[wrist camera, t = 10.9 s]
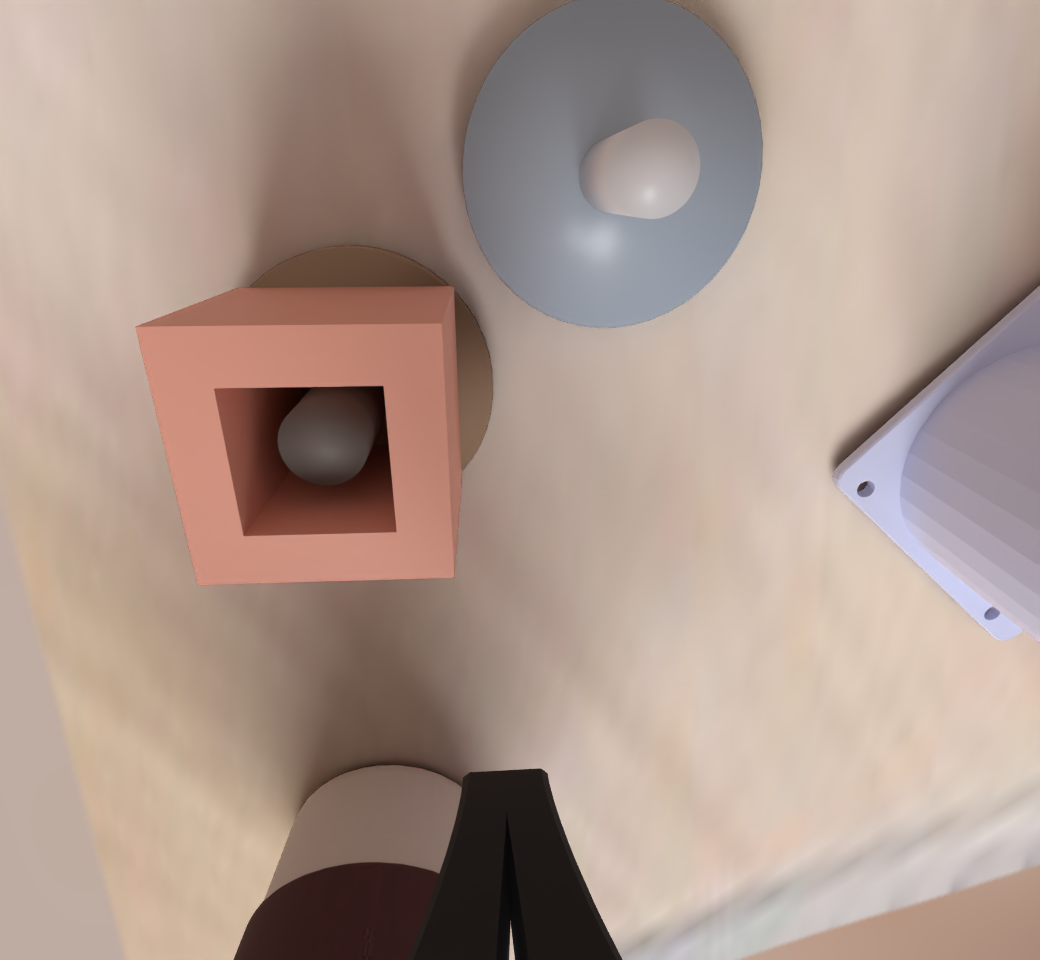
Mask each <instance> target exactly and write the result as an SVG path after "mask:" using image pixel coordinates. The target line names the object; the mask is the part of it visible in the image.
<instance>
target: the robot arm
mask: <svg viewBox="0 0 1040 960" xmlns="http://www.w3.org/2000/svg"><path fill="white" fill-rule="evenodd" d="M865 481H867V486H866V487H865V488H864V489H863V490H861V491H858V492H857V488H858V487H859V485H860V484H861V483H863V482H865ZM833 482H834V484H835V485H836V487H837V488H838V489H839V490H841V491H842V492H843V493H844V494H845V495H846V496H847V497H848V498H849V499H850V500H851V501H852V502H853V503H854V504H855V505H856V506H857V507H858V508H859V509H860V510H861V511H862V512H863V513H864V514H865V515H867V516H868V517H869V518H870V519H871V520H872V521H873V522H874V523H875V524H876V525H877V526H878V527H879V528H880V529H881V530H882V531H883V532H884V533H885V534H886V535H887V536H888V537H889V538H890V539H891V540H892V541H894V542H895V543H896V544H897V545H898V546H899V547H900V548H901V549H902V550H903V551H904V552H905V553H906V554H907V555H908V556H909V557H910V558H911V559H912V560H913V561H914V562H915V563H916V564H917V565H918V566H919V567H921V568H922V569H923V570H924V571H925V572H926V573H927V574H928V575H929V576H930V577H931V578H932V579H933V580H934V581H935V582H936V583H937V584H938V585H939V586H940V587H941V588H942V589H943V590H944V591H945V592H947V593H948V594H949V595H950V596H951V597H952V598H953V599H954V600H955V601H956V602H957V603H958V604H959V605H960V606H961V607H962V608H963V609H964V610H965V611H966V612H967V613H968V614H969V615H970V616H971V617H972V618H974V619H975V620H976V621H977V622H978V623H979V624H980V625H981V626H982V627H983V628H984V629H985V630H986V631H987V632H988V633H989V634H990V635H992V636H993V637H994V638H995V639H997V640H1008V639H1011V638H1013V637H1015V636H1016V635H1018V634H1019V633H1020V632H1022V631H1025V632H1026V633H1027V634H1028V635H1029V636H1031V637H1032V638H1033V639H1034V640H1036V641H1037V642H1038V643H1039V644H1040V286H1038V287H1037V288H1036V289H1035V290H1034V291H1033V292H1032V293H1031V294H1029V295H1028V296H1027V297H1026V298H1025V299H1024V300H1023V301H1022V302H1021V303H1019V304H1018V305H1017V306H1016V307H1015V308H1014V309H1013V310H1012V311H1010V312H1009V313H1008V314H1007V315H1006V316H1005V317H1004V318H1003V319H1002V320H1000V321H999V322H998V323H997V324H996V325H995V326H994V327H993V328H991V329H990V330H989V331H988V332H987V333H986V334H985V335H984V336H983V337H981V338H980V339H979V340H978V341H977V342H976V343H975V344H974V345H972V346H971V347H970V348H969V349H968V350H967V351H966V352H965V353H964V354H962V355H961V356H960V357H959V358H958V359H957V360H956V361H955V362H953V363H952V364H951V365H950V366H949V367H948V368H947V369H946V370H945V371H943V372H942V373H941V374H940V375H939V376H938V377H937V378H936V379H934V380H933V381H932V382H931V383H930V384H929V385H928V386H927V387H926V388H924V389H923V390H922V391H921V392H920V393H919V394H918V395H917V396H915V397H914V398H913V399H912V400H911V401H910V402H909V403H908V404H907V405H905V406H904V407H903V408H902V409H901V410H900V411H899V412H898V413H896V414H895V415H894V416H893V417H892V418H891V419H890V420H889V421H888V422H886V423H885V424H884V425H883V426H882V427H881V428H880V429H879V430H877V431H876V432H875V433H874V434H873V435H872V436H871V437H870V438H869V439H867V440H866V441H865V442H864V443H863V444H862V445H861V446H860V447H858V448H857V449H856V450H855V451H854V452H853V453H852V454H851V455H850V456H848V457H847V458H846V459H845V460H844V461H843V462H842V463H841V464H839V466H838V467H837V468H836V469H835V471H834V474H833ZM989 608H990V609H989ZM988 609H989V610H988ZM987 610H988V611H987ZM510 921H511V928H512V937H513V945H514V954H515V960H622V958H621V956H620V954H619V952H618V950H617V948H616V946H615V944H614V942H613V940H612V938H611V936H610V934H609V932H608V930H607V928H606V926H605V924H604V922H603V920H602V918H601V916H600V914H599V912H598V910H597V908H596V906H595V903H594V901H593V899H592V897H591V894H590V892H589V890H588V888H587V885H586V883H585V881H584V879H583V876H582V874H581V872H580V870H579V867H578V865H577V863H576V860H575V858H574V855H573V853H572V850H571V848H570V845H569V843H568V840H567V837H566V835H565V832H564V829H563V827H562V824H561V821H560V818H559V815H558V812H557V809H556V806H555V803H554V799H553V796H552V792H551V788H550V784H549V780H548V774H547V773H546V772H545V771H543V770H542V769H524V770H505V771H487V772H470V773H468V774H467V775H466V776H465V777H464V778H463V783H462V791H461V797H460V801H459V806H458V811H457V815H456V819H455V823H454V827H453V831H452V834H451V838H450V841H449V845H448V848H447V852H446V855H445V858H444V861H443V864H442V867H441V870H440V873H439V876H438V879H437V882H436V885H435V888H434V891H433V894H432V897H431V900H430V902H429V905H428V908H427V910H426V913H425V916H424V918H423V921H422V923H421V926H420V928H419V931H418V933H417V936H416V938H415V941H414V943H413V946H412V948H411V951H410V953H409V956H408V958H407V960H509V946H510Z"/></svg>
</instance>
